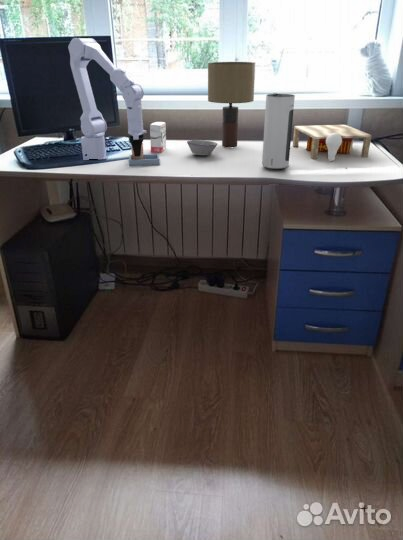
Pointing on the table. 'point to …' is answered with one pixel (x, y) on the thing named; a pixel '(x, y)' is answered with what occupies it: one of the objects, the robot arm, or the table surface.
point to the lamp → (230, 93)
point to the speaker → (277, 130)
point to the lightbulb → (333, 145)
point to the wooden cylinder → (138, 156)
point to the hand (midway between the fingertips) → (137, 154)
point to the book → (343, 148)
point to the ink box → (158, 137)
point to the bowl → (201, 147)
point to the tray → (145, 160)
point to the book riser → (326, 130)
